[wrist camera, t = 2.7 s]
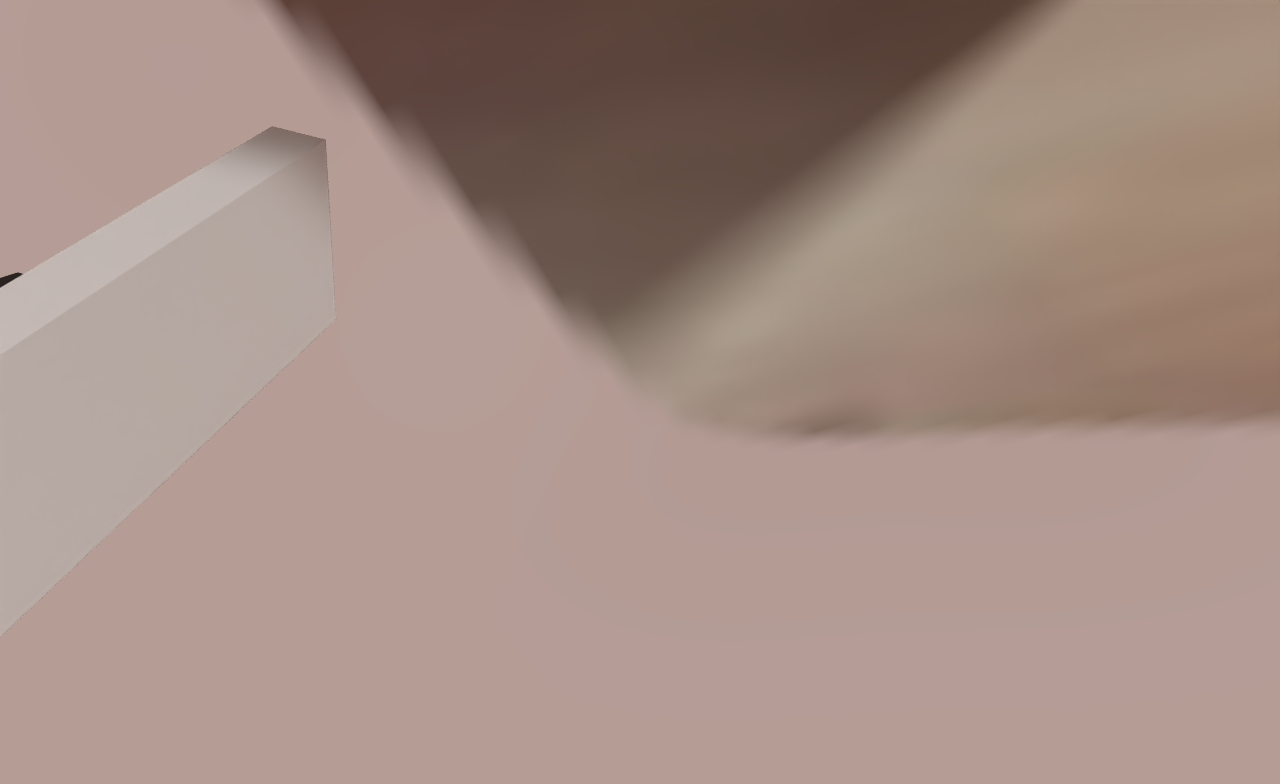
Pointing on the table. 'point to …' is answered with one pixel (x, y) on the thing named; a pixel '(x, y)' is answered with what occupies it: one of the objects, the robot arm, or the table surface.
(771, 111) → the table surface
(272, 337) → the robot arm
